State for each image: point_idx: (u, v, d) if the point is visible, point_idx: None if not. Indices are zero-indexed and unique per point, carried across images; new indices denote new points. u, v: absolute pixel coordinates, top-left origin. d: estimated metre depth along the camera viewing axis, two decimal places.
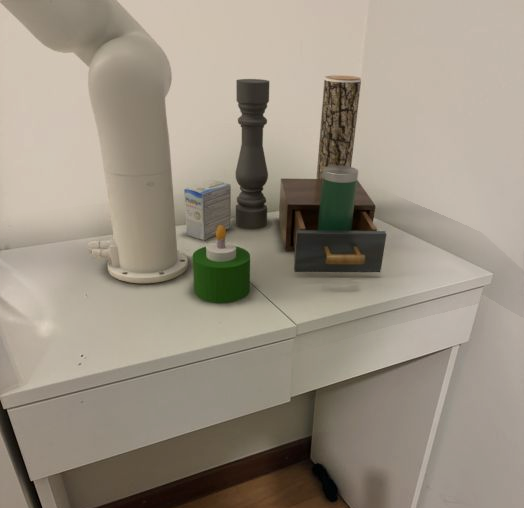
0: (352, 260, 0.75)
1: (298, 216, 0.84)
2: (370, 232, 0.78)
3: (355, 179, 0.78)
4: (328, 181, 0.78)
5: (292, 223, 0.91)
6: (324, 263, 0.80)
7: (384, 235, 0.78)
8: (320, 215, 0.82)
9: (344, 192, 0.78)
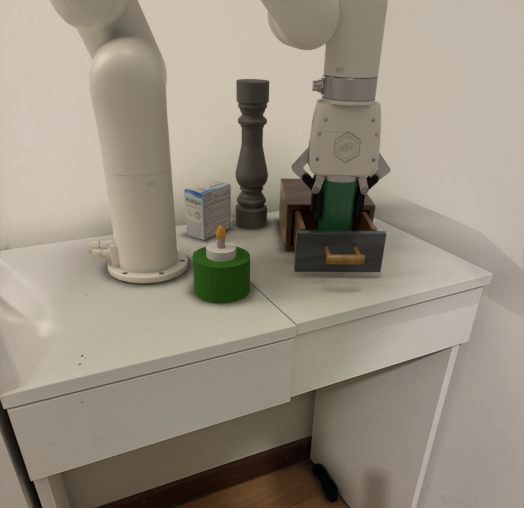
0: (352, 260, 0.75)
1: (298, 216, 0.84)
2: (370, 232, 0.78)
3: (355, 179, 0.78)
4: (328, 181, 0.78)
5: (292, 223, 0.91)
6: (324, 263, 0.80)
7: (384, 235, 0.78)
8: None
9: (344, 192, 0.78)
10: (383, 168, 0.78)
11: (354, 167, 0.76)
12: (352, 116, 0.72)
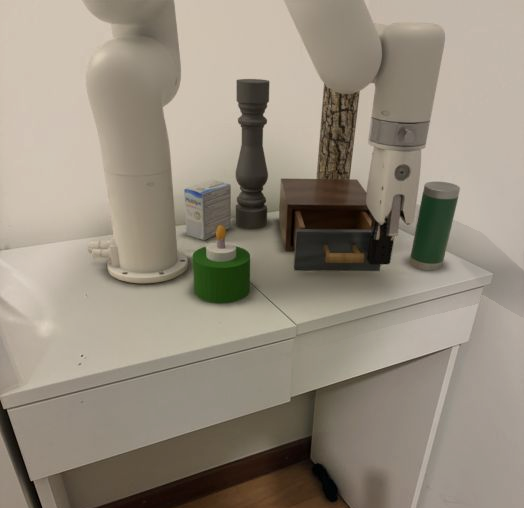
0: (351, 259, 0.75)
1: (298, 215, 0.85)
2: (369, 231, 0.79)
3: (457, 195, 0.79)
4: (431, 198, 0.79)
5: (292, 222, 0.91)
6: (324, 262, 0.80)
7: None
8: (418, 230, 0.83)
9: (447, 208, 0.79)
10: None
11: None
12: None
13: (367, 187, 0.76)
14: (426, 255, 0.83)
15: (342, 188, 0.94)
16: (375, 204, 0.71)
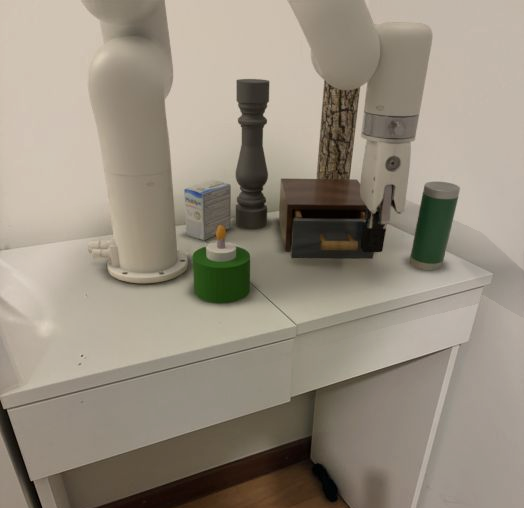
0: (345, 246, 0.79)
1: None
2: (363, 220, 0.83)
3: (457, 195, 0.79)
4: (431, 198, 0.79)
5: None
6: (319, 250, 0.84)
7: None
8: (418, 230, 0.83)
9: (447, 208, 0.79)
10: None
11: None
12: None
13: (361, 178, 0.80)
14: (426, 255, 0.83)
15: (342, 188, 0.94)
16: (368, 194, 0.75)
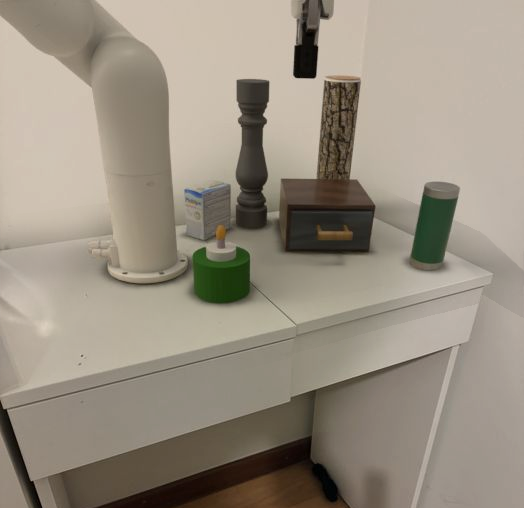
0: (341, 236, 0.83)
1: None
2: (358, 212, 0.86)
3: (457, 195, 0.79)
4: (431, 198, 0.79)
5: None
6: (316, 240, 0.88)
7: (370, 214, 0.86)
8: (418, 230, 0.83)
9: (447, 208, 0.79)
10: None
11: None
12: None
13: None
14: (426, 255, 0.83)
15: (342, 188, 0.94)
16: None
